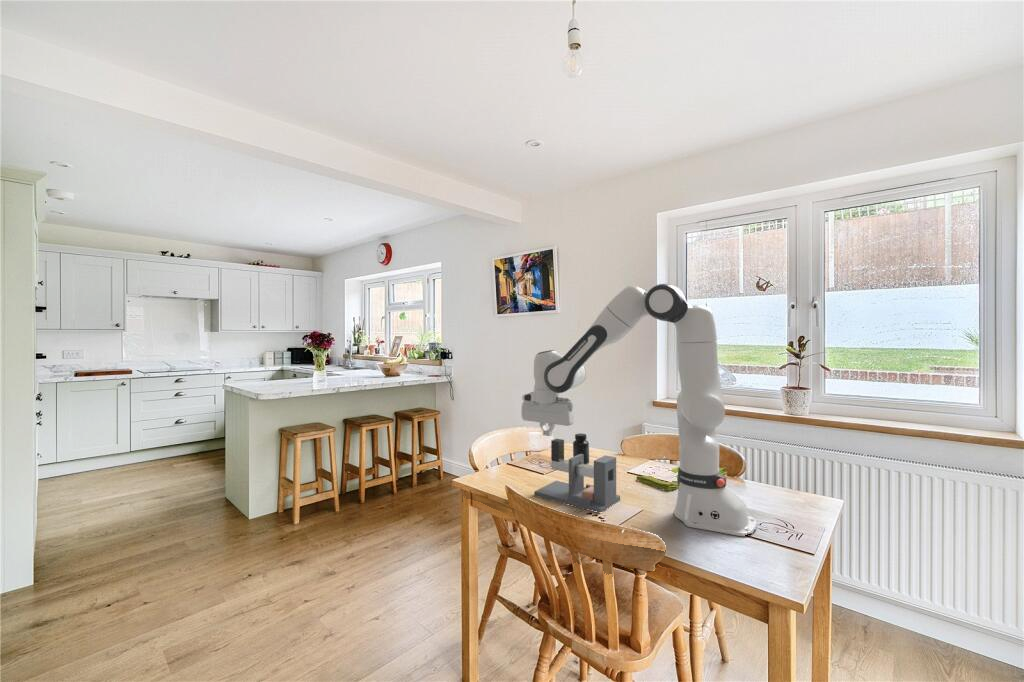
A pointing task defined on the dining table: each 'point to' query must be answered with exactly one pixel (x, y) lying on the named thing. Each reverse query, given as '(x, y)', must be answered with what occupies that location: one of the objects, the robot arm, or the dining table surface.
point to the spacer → (588, 493)
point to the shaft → (563, 465)
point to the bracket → (574, 488)
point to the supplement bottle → (581, 447)
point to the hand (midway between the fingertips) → (547, 435)
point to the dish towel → (667, 485)
